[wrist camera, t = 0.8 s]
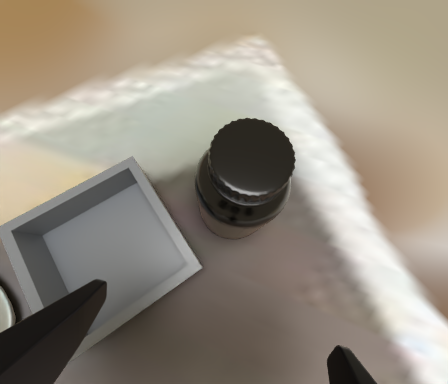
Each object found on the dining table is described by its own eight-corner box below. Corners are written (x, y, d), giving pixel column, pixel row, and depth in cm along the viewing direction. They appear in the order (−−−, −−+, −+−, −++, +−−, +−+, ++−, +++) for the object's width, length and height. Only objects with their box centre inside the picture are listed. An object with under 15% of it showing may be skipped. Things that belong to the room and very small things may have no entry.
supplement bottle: (245, 168, 25) (279, 87, 13) (274, 223, 23) (341, 185, 11) (189, 191, 23) (171, 124, 12) (215, 251, 22) (224, 240, 10)
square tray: (87, 349, 18) (56, 371, 15) (35, 234, 21) (-4, 228, 17) (203, 266, 21) (202, 267, 17) (144, 173, 23) (132, 156, 20)
